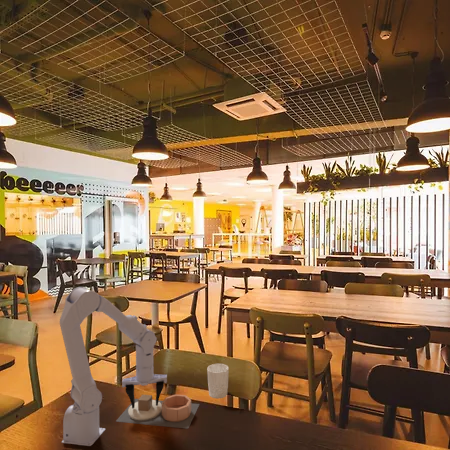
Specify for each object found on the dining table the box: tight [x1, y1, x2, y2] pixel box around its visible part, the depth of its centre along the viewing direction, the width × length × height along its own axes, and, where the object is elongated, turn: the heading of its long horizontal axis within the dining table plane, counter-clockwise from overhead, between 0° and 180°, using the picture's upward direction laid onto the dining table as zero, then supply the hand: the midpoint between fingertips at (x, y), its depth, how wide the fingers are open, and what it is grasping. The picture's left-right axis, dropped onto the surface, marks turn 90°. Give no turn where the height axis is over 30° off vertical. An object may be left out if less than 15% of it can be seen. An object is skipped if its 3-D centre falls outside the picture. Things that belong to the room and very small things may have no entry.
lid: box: [128, 394, 162, 421], centre depth 110 cm, size 11×11×4 cm
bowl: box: [162, 394, 192, 422], centre depth 109 cm, size 9×9×4 cm
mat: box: [115, 398, 201, 430], centre depth 110 cm, size 24×14×1 cm, turn 80°
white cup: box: [206, 363, 230, 399], centre depth 121 cm, size 8×8×10 cm
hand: (145, 405), depth 110 cm, fingers open, 7 cm apart
